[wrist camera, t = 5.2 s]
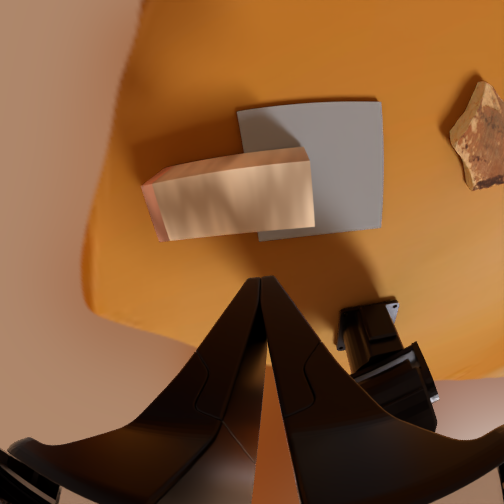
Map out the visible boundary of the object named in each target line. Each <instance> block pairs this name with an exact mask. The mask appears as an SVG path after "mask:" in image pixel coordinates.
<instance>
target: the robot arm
mask: <svg viewBox="0 0 504 504" xmlns="http://www.w3.org/2000/svg"><path fill="white" fill-rule="evenodd" d="M398 308H399V303H398V301H397V300H394V301H388V302H383V303H377V304H371V305H365V306H359V307H353V308H346V309H342V310H341V311H340V313H339V324H338V335H337V344H336V347H337V350H338V351H342V350H346V353H347V357H348V361H349V365H350V369H351V374H350V375H349V374H348V373H347V372H346V371H345V370H344V369H343V368H342V367H341V365H340V364H339V363H338V362H337V361H336V359H335V358H334V357H333V356H332V354H331V353H330V352H329V350H328V349H327V348H326V346H325V345H324V344H323V342H321V340H320V338H319V337H318V335H317V334H316V333H315V331H314V330H313V329H312V327H311V326H310V324H309V323H308V322H307V320H306V319H305V317H304V316H303V315H302V313H301V312H300V311H299V309H298V308H297V306H296V305H295V304H294V302H293V301H292V299H291V298H290V297H289V295H288V294H287V293H286V291H285V290H284V288H283V287H282V286H281V284H280V283H279V282H278V280H277V279H276V277H275V276H264V277H262V278H260V277H255V278H248V279H247V280H246V282H245V283H244V284H243V286H242V287H241V289H240V290H239V291H238V293H237V294H236V296H235V297H234V298H233V300H232V301H231V303H230V304H229V305H228V307H227V308H226V310H225V311H224V312H223V314H222V315H221V317H220V318H219V319H218V321H217V322H216V323H215V325H214V326H213V328H212V329H211V330H210V332H209V333H208V335H207V336H206V337H205V339H204V340H203V342H202V343H201V344H200V346H199V347H198V348H197V350H196V352H194V354H193V355H192V356H191V358H190V359H189V361H188V362H187V363H186V364H185V366H184V367H183V368H182V370H181V371H180V372H179V373H178V375H177V376H176V377H175V378H174V379H173V380H172V381H171V383H170V384H169V385H168V386H167V387H166V388H165V389H164V390H163V391H162V392H161V393H160V394H159V395H158V397H157V398H156V399H155V400H154V401H153V402H152V403H151V404H150V405H149V406H148V407H147V408H146V409H145V410H144V411H143V412H142V413H141V414H140V415H139V416H138V417H137V418H136V419H135V420H133V421H132V422H131V423H129V424H128V425H126V426H124V427H122V428H119V429H116V430H113V431H110V432H107V433H104V434H100V435H97V436H93V437H90V438H86V439H83V440H79V441H75V442H72V443H67V444H63V445H45V444H42V443H40V442H39V441H37V440H35V439H33V438H30V437H27V438H25V439H21V440H18V441H16V442H14V443H13V444H12V445H11V446H10V447H9V448H8V449H7V451H8V452H9V453H10V454H11V455H10V454H9V453H7V452H6V451H4V450H3V449H1V448H0V504H251V500H252V492H253V484H254V476H255V466H256V465H255V464H256V458H257V449H258V439H259V430H260V420H261V410H262V399H263V389H264V377H265V366H266V355H267V342H268V348H269V353H270V358H271V363H272V368H273V373H274V377H275V383H276V388H277V393H278V398H279V403H280V408H281V413H282V418H283V423H284V428H285V433H286V438H287V443H288V448H289V452H290V457H291V463H292V467H293V472H294V477H295V482H296V488H297V493H298V497H299V502H300V504H504V425H501V426H499V427H497V428H495V429H494V430H492V431H490V432H489V433H487V434H485V435H484V436H482V437H480V438H477V439H473V440H457V439H453V438H450V437H446V436H443V435H440V434H437V433H435V430H436V426H437V419H436V416H435V412H434V409H433V406H432V404H433V403H434V402H436V401H438V400H439V396H438V393H437V390H436V387H435V384H434V381H433V378H432V376H431V373H430V371H429V368H428V366H427V364H426V361H425V359H424V357H423V355H422V352H421V350H420V348H419V346H418V344H417V342H414V343H412V345H410V346H408V347H406V348H405V349H404V347H403V344H402V342H401V340H400V337H399V335H398V332H397V330H396V328H395V325H394V323H395V319H396V315H397V312H398Z"/></svg>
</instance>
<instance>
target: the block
mask: <svg viewBox="0 0 504 504" xmlns="http://www.w3.org/2000/svg"><path fill="white" fill-rule="evenodd" d="M141 188H142V191H143V195H144V198H145V201H146V204H147V207H148V210H149V213H150V216H151V219H152V222H153V225H154V228H155V231H156V234H157V236H158V239H159V242H164V241H173V240H182V239H191V238H200V237H210V236H220V235H230V234H240V233H250V232H261V231H271V230H282V229H294V228H305V227H315V221H314V205H313V191H312V179H311V168H310V160H309V158H308V155H307V153H306V151H305V148H304V147H294V148H284V149H274V150H266V151H258V152H250V153H243V154H236V155H229V156H223V157H217V158H211V159H206V160H200V161H195V162H190V163H185V164H180V165H175V166H170V167H166V168H164V169H162V170H161V171H160V172H158V173H157V174H156V175H155V176H153V177H152V178H151V179H149V180H148V181H147V182H146V183H144V184H143V185H142V186H141Z"/></svg>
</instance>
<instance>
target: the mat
mask: <svg viewBox="0 0 504 504" xmlns="http://www.w3.org/2000/svg"><path fill="white" fill-rule="evenodd" d="M237 116H238V121H239V127H240V133H241V138H242V144H243V150H244V153H250V152H258V151H266V150H274V149H284V148H294V147H304V148H305V151H306V153H307V155H308V158H309V160H310V168H311V179H312V191H313V205H314V221H315V227H305V228H294V229H282V230H271V231H261V232H258V238H259V242H261V241H269V240H278V239H286V238H295V237H303V236H312V235H320V234H329V233H338V232H347V231H356V230H365V229H374V228H381V221H382V205H383V175H384V151H383V122H382V107H381V102H370V101H342V102H316V103H301V104H290V105H280V106H271V107H263V108H256V109H249V110H242V111H237Z"/></svg>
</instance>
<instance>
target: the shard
mask: <svg viewBox="0 0 504 504" xmlns="http://www.w3.org/2000/svg"><path fill="white" fill-rule="evenodd" d="M449 133H450V140H451V144H452V146H453V148H454V149H455V150H456V152H457V153H458V154H459V155H460V156H461V159H462V162H463V167H464V172H465V180H466V184H467V186H468V187H469V189H470V190H471V191H475V190H478V189H483V188H489V187H492V186H493V185H500V184H504V101H503V100H502V99H501V98H500V97H499V96H498V94H497V93H496V91H495V89H494V88H493V87H492V86H491V85H490V84H488V83H487V82H485V81H481V82H478V83H477V85H476V88H475V90H474V92H473V94H472V96H471V99H470V101H469V103H468V106H467V108H466V110H465V112H464V113H463V114H462V115H461V116H460V118H459V119H458V120H457V122H456V124H455V125H454V126H453V127H452V129H451V130H450V132H449Z"/></svg>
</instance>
